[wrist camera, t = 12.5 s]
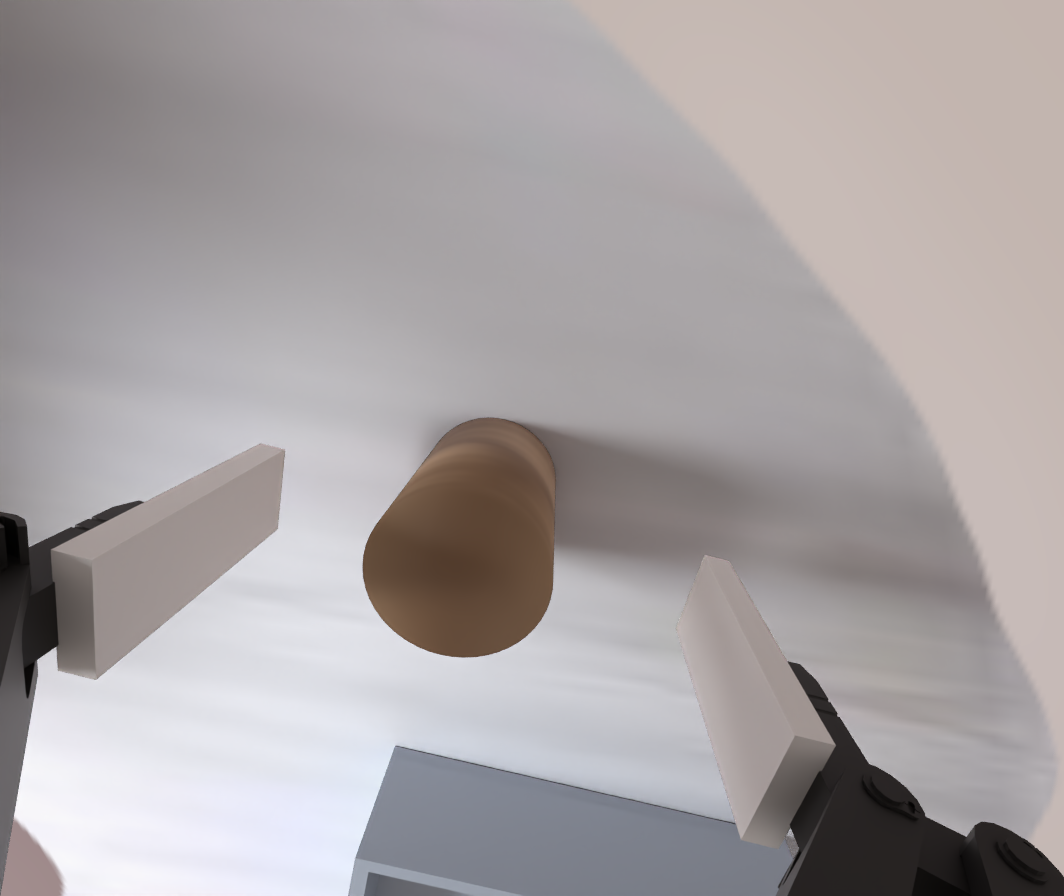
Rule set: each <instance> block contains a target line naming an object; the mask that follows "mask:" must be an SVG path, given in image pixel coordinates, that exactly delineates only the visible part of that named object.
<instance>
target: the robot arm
mask: <svg viewBox="0 0 1064 896" xmlns="http://www.w3.org/2000/svg"><path fill="white" fill-rule="evenodd" d="M284 457H285V449H281V448H277V447H273V446H269V445H265V444H261V443H260V444H258V445H256V446H254V447H252V448H250V449H249V450H247V451H245V452H243V453H241V454H239V455H237V456H235V457H233V458H231V459H229V460H227V461H225V462H223V463H221V464H219V465H217V466H215V467H213V468H211V469H209V470H207V471H205V472H203V473H201V474H199V475H197V476H195V477H193V478H191V479H189V480H187V481H185V482H183V483H181V484H179V485H177V486H175V487H174V488H172V489H170V490H168V491H166V492H164V493H162V494H160V495H158V496H156V497H154V498H152V499H150V500H148V501H146V502H142V501H135V502H131V503H127V504H123V505H119V506H115V507H112V508H110V509H108V510H106V511H104V512H102V513H100V514H97V515H95V516H93V517H92V519H87V520H85V521H83V522H81V523H79V524H77V525H75V527H74V528H72V527H70V528H68V529H66V530H64V531H62V532H60V533H58V534H56V535H54V536H52V537H50V538H48V539H46V540H44V541H41V542H39V543H37V544H35V545H33V546H31V547H29V548H28V535H27V525H26V522H25V519H23V518H21V517H19V516H17V515H14V514H8V513H3V512H0V894H1V889H2V883H3V877H4V871H5V865H6V859H7V853H8V847H9V841H10V836H11V829H12V823H13V818H14V812H15V806H16V800H17V794H18V789H19V783H20V777H21V771H22V765H23V759H24V753H25V747H26V742H27V736H28V730H29V724H30V718H31V712H32V706H33V700H34V694H35V689H36V683H37V677H38V667H37V660H38V659H39V658H40V657H42V656H43V655H45V654H46V653H48V652H49V651H50V650H52V649H53V648H55V647H56V646H57V662H58V671H62V672H66V673H70V674H74V675H78V676H82V677H86V678H90V679H94V680H96V679H98V678H99V677H100V676H101V675H102V674H104V673H105V672H106V671H107V670H108V669H110V668H111V667H112V666H113V665H114V664H116V663H117V662H118V661H119V660H120V659H122V658H123V657H124V656H125V655H127V654H128V653H129V652H130V651H131V650H133V649H134V648H135V647H136V646H137V645H139V644H140V643H141V642H142V641H143V640H145V639H146V638H147V637H148V636H149V635H151V634H152V633H153V632H154V631H155V630H157V629H158V628H159V627H160V626H161V625H163V624H164V623H165V622H166V621H168V620H169V619H170V618H171V617H172V616H174V615H175V614H176V613H177V612H178V611H180V610H181V609H182V608H183V607H184V606H186V605H187V604H188V603H189V602H190V601H192V600H193V599H194V598H195V597H196V596H198V595H199V594H200V593H201V592H202V591H204V590H205V589H206V588H207V587H209V586H210V585H211V584H212V583H213V582H215V581H216V580H217V579H218V578H219V577H221V576H222V575H223V574H224V573H225V572H227V571H228V570H229V569H230V568H231V567H233V566H234V565H235V564H236V563H237V562H239V561H240V560H241V559H242V558H243V557H245V556H246V555H247V554H248V553H249V552H251V551H252V550H253V549H254V548H256V547H257V546H258V545H259V544H260V543H262V542H263V541H264V540H265V539H266V538H268V537H269V536H270V535H271V534H272V533H274V532H275V531H276V530H277V529H278V520H279V510H280V499H281V488H282V478H283V467H284ZM676 631H677V634H678V638H679V641H680V644H681V647H682V651H683V654H684V657H685V660H686V663H687V667H688V670H689V673H690V676H691V680H692V683H693V686H694V689H695V693H696V696H697V699H698V702H699V706H700V709H701V712H702V715H703V719H704V722H705V725H706V728H707V732H708V735H709V738H710V741H711V745H712V748H713V751H714V754H715V758H716V761H717V764H718V767H719V771H720V774H721V777H722V780H723V784H724V787H725V790H726V793H727V797H728V800H729V803H730V806H731V809H732V813H733V816H734V819H735V822H736V826H737V829H738V832H739V835H740V839H741V840H743V841H747V842H751V843H755V844H759V845H763V846H767V847H771V848H775V849H779V847H780V845H781V844H782V842H783V840H784V838H785V836H786V835H787V833H788V831H789V829H790V827H791V830H792V832H793V834H794V837H795V839H796V842H797V844H798V847H799V850H798V852H797V854H796V855H795V857H794V859H793V861H792V862H791V864H790V866H789V868H788V869H787V871H786V873H785V875H784V876H783V878H782V880H781V882H780V883H779V885H778V888H779V890H778V892H777V894H776V896H1064V877H1063V875H1062V874H1061V873H1060V872H1059V870H1057V868H1056V867H1055V866H1054V865H1053V864H1052V863H1051V862H1050V861H1049V860H1048V858H1047V857H1046V856H1045V855H1044V854H1043V853H1042V852H1041V851H1039V850H1038V849H1037V848H1035V847H1034V846H1033V845H1032V844H1031V843H1029V842H1028V841H1027V840H1025V839H1023V838H1021V837H1020V836H1018V835H1017V834H1015V833H1013V832H1012V831H1010V830H1008V829H1006V828H1003V827H1001V826H999V825H997V824H994V823H988V822H980V823H978V824H977V825H975V826H974V827H973V829H972V830H971V832H970V833H969V835H968V836H967V837H965V836H963V835H961V834H959V833H957V832H955V831H953V830H951V829H949V828H947V827H945V826H943V825H941V824H939V823H937V822H935V821H933V820H931V819H929V818H927V817H925V813H924V811H923V809H922V807H921V806H920V804H919V802H918V801H917V799H916V798H915V797H914V796H913V795H912V794H911V793H910V792H909V790H908V789H907V788H906V787H905V786H904V785H902V784H901V783H900V782H899V781H897V780H896V779H895V778H894V777H892V776H891V775H890V774H888V773H886V772H884V771H883V770H881V769H879V768H877V767H876V766H873V765H870V764H869V763H868V762H867V760H866V759H865V757H864V755H863V754H862V752H861V751H860V749H859V747H858V746H857V744H856V743H855V741H854V739H853V738H852V736H851V735H850V733H849V731H848V730H847V728H846V727H845V725H844V723H843V722H842V720H841V719H840V717H837V712H836V711H835V709H834V707H833V706H832V704H831V703H830V702H828V698H827V696H826V695H825V693H824V691H823V690H822V688H821V687H820V685H819V683H818V682H817V681H816V680H815V679H814V678H813V677H812V676H811V675H810V674H809V673H808V672H807V671H806V670H805V669H804V668H803V667H802V666H801V665H800V664H797V663H793V662H789V661H787V660H786V658H785V657H784V655H783V653H782V652H781V650H780V648H779V646H778V645H777V643H776V641H775V639H774V638H773V636H772V634H771V632H770V631H769V629H768V627H767V626H766V624H765V622H764V620H763V619H762V617H761V615H760V613H759V612H758V610H757V608H756V607H755V605H754V603H753V601H752V600H751V598H750V596H749V594H748V593H747V591H746V589H745V588H744V586H743V584H742V582H741V581H740V579H739V577H738V575H737V574H736V572H735V570H734V569H733V567H732V565H731V563H730V562H729V561H728V560H724V559H720V558H716V557H712V556H708V555H704V558H703V560H702V563H701V565H700V568H699V570H698V573H697V575H696V578H695V581H694V583H693V586H692V588H691V591H690V593H689V596H688V599H687V601H686V604H685V606H684V609H683V611H682V614H681V616H680V619H679V622H678V624H677V627H676Z"/></svg>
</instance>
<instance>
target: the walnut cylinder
mask: <svg viewBox="0 0 1064 896" xmlns="http://www.w3.org/2000/svg"><path fill="white" fill-rule="evenodd" d="M555 482H556V479H555V470H554V466H553V462H552V460H551V457H550V455H549V453H548V451H547V449H546V448H545V446H544V445H543V444H542V442H541V441H540V440H539V439H538V438H537V437H536V436H535V435H534V434H533V433H531V432H530V431H529V430H527V429H526V428H524V427H522V426H520V425H518V424H516V423H514V422H511V421H508V420H504V419H499V418H479V419H474V420H470V421H467V422H464V423H462V424H460V425H458V426H456V427H454V428H453V429H452V430H450V431H449V432H448V433H447V434H446V435H444V436H443V437H442V439H441V440H440V441H439V442H438V444H437V445H436V446H435V448H434V449H433V450H432V452H431V453H430V454H429V455H428V457H427V458H426V459H425V461H424V462H423V463H422V465H421V466H420V467H419V469H418V470H417V471H416V473H415V474H414V475H413V477H412V478H411V479H410V481H409V482H408V483H407V485H406V486H405V487H404V489H403V490H402V491H401V492H400V494H399V495H398V496H397V498H396V499H395V500H394V502H393V503H392V504H391V506H390V507H389V508H388V510H387V511H386V512H385V514H384V515H383V516H382V518H381V519H380V520H379V522H378V523H377V524H376V526H375V527H374V529H373V531H372V532H371V534H370V536H369V539H368V541H367V544H366V547H365V551H364V555H363V578H364V583H365V588H366V591H367V593H368V596H369V599H370V601H371V603H372V604H373V606H374V608H375V610H376V611H377V613H378V614H379V616H380V617H381V618H382V619H383V621H384V622H385V623H386V624H387V625H388V626H389V627H390V628H391V629H392V630H393V631H395V632H396V633H397V634H398V635H399V636H401V637H402V638H404V639H405V640H407V641H408V642H410V643H412V644H414V645H416V646H417V647H420V648H422V649H425V650H427V651H430V652H433V653H437V654H440V655H445V656H451V657H478V656H485V655H489V654H493V653H497V652H500V651H502V650H504V649H507V648H509V647H511V646H513V645H514V644H516V643H518V642H519V641H521V640H522V639H523V638H525V637H526V636H527V635H528V634H529V633H530V632H531V631H532V630H533V629H534V628H535V627H536V626H537V625H538V623H539V622H540V621H541V619H542V617H543V616H544V614H545V612H546V610H547V608H548V605H549V602H550V599H551V594H552V590H553V565H554V524H555Z"/></svg>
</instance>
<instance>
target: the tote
mask: <svg viewBox="0 0 1064 896" xmlns="http://www.w3.org/2000/svg"><path fill="white" fill-rule="evenodd" d="M792 861H793V858H792V855H791V853H790V850H789V848H788V845H787V843H786V840H785V838H784V840H783V842H782V844H781V845H780V847H779V849H775V848H771V847H767V846H763V845H759V844H755V843H751V842H747V841H743V840H741V839H740V835H739V832H738V829H737V826H736V824H732V823H728V822H723V821H719V820H715V819H710V818H706V817H702V816H697V815H693V814H689V813H684V812H680V811H676V810H671V809H667V808H662V807H658V806H654V805H649V804H645V803H641V802H636V801H632V800H628V799H623V798H619V797H614V796H610V795H606V794H601V793H597V792H593V791H588V790H584V789H580V788H575V787H571V786H567V785H562V784H558V783H553V782H549V781H545V780H540V779H536V778H532V777H527V776H523V775H519V774H514V773H510V772H505V771H501V770H497V769H492V768H488V767H484V766H479V765H475V764H471V763H466V762H462V761H458V760H453V759H449V758H444V757H440V756H436V755H431V754H427V753H423V752H418V751H414V750H410V749H405V748H401V747H396V746H395V748H394V751H393V754H392V756H391V759H390V762H389V765H388V768H387V770H386V773H385V776H384V779H383V782H382V785H381V787H380V790H379V793H378V796H377V799H376V801H375V804H374V807H373V810H372V813H371V815H370V818H369V821H368V824H367V827H366V830H365V832H364V835H363V838H362V841H361V844H360V846H359V849H358V852H357V855H356V858H355V863H354V868H353V873H352V879H351V884H350V889H349V895H348V896H776V894H777V892H778V890H779V888H778V885H779V883H780V882H781V880H782V878H783V876H784V875H785V873H786V871H787V869H788V868H789V866H790V864H791V862H792Z"/></svg>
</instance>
